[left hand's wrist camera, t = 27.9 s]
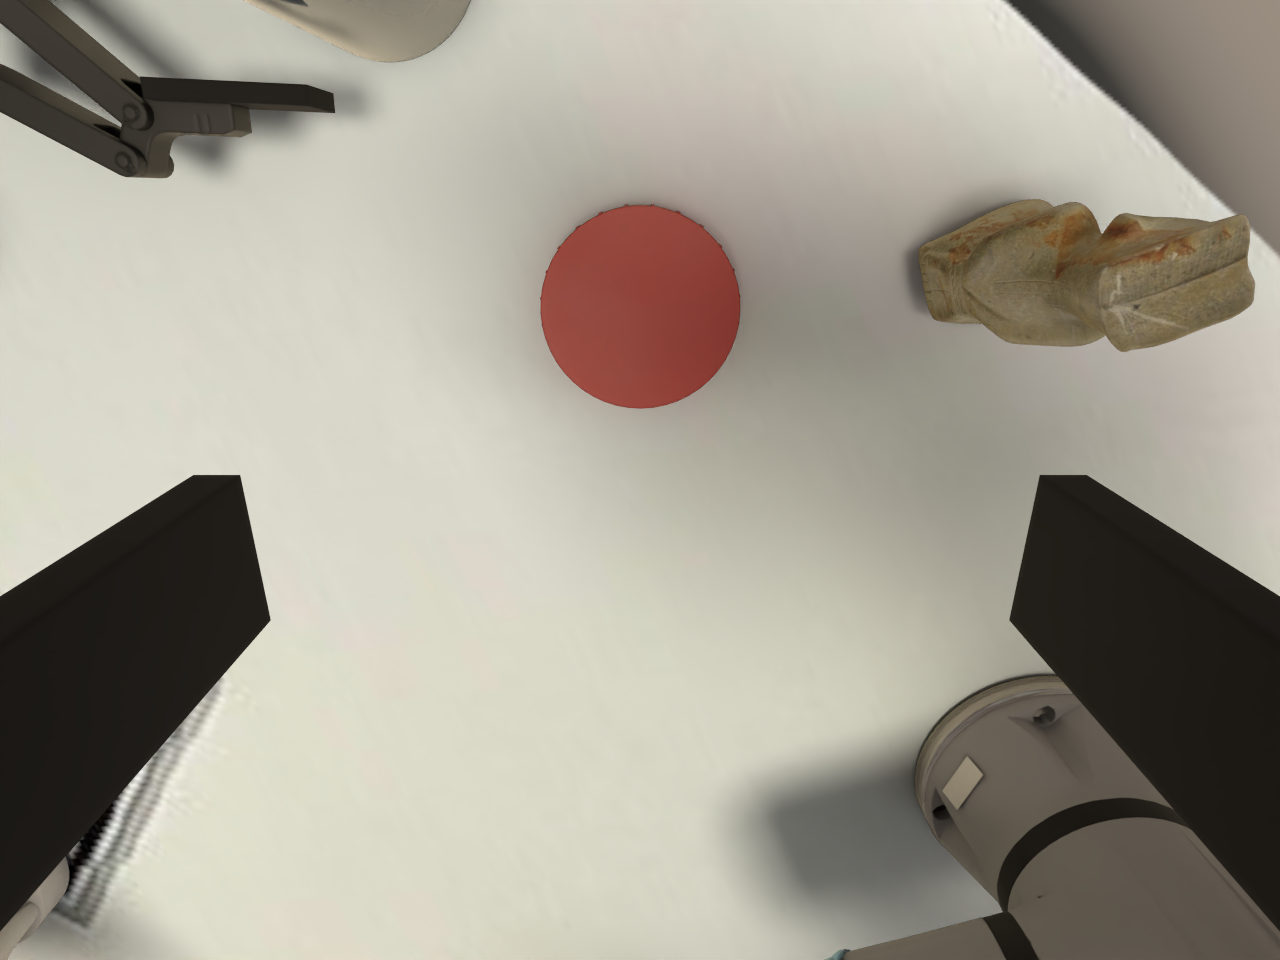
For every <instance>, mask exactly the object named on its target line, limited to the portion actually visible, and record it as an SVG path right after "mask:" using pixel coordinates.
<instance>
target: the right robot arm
mask: <svg viewBox="0 0 1280 960" xmlns="http://www.w3.org/2000/svg"><path fill="white" fill-rule="evenodd" d="M0 23H1V24H2V25H3V26H5V27H6V28H7V29H8V30H10V31H11V32H12V33H13V34H14V35H16V36H17V37H18V38H19V39H20V40H22V41H23V42H24V43H25V44H26V45H28V46H29V47H30V48H31V49H32V50H34V51H35V52H36V53H37V54H39V55H40V56H41V57H42V58H43V59H45V60H46V61H47V62H48V63H49V64H51V65H52V66H53V67H54V68H55V69H57V70H58V71H59V72H60V73H61V74H63V75H64V76H65V77H66V78H67V79H69V80H70V81H71V82H72V83H74V84H75V85H76V86H77V87H78V88H80V89H81V90H82V91H83V92H84V93H86V94H87V95H88V96H89V97H90V98H92V99H93V100H94V101H95V102H96V103H98V104H99V105H100V106H101V107H102V108H104V109H105V110H106V111H107V112H109V113H110V114H111V115H112V116H113V117H115V118H116V119H117V120H118V121H119V122H121V123H122V127H119V126H117V125H116V124H114V123H112V122H110V121H108V120H106V119H104V118H103V117H101V116H99V115H97V114H95V113H93V112H91V111H90V110H88V109H86V108H84V107H82V106H80V105H78V104H77V103H75V102H73V101H71V100H69V99H67V98H65V97H63V96H62V95H60V94H58V93H56V92H54V91H52V90H50V89H49V88H47V87H45V86H43V85H41V84H39V83H37V82H36V81H34V80H32V79H30V78H28V77H26V76H24V75H22V74H21V73H19V72H17V71H15V70H13V69H11V68H9V67H7V66H5V65H2V64H0V112H1V113H3V114H5V115H7V116H9V117H11V118H13V119H15V120H17V121H18V122H20V123H22V124H24V125H26V126H28V127H30V128H32V129H34V130H36V131H37V132H39V133H41V134H43V135H45V136H47V137H49V138H51V139H53V140H55V141H57V142H58V143H60V144H62V145H64V146H66V147H68V148H70V149H72V150H74V151H76V152H77V153H79V154H81V155H83V156H85V157H87V158H89V159H91V160H93V161H95V162H97V163H98V164H100V165H102V166H104V167H106V168H108V169H110V170H112V171H114V172H116V173H117V174H119V175H122V176H125V177H141V178H167V177H169V176H170V175H171V174H172V173H173V171H174V163H173V160H172V158H171V157H170V155H169V154H170V148H171V145H172V142H173V141H174V139H175V138H177V137H178V136H182V135H206V136H228V137H242V136H245V135H247V134H250V133H252V130H251V122H250V115H249V109H262V110H283V111H304V112H325V113H335V107H334V97H333V93H330V92H327V91H324V90H321V89H318V88H315V87H312V86H309V85H302V84H282V83H261V82H240V81H219V80H199V79H178V78H157V77H140V78H139V77H138V76H137V75H136V74H135V73H133V72H132V71H131V70H130V69H129V68H127V67H126V66H125V65H124V64H123V63H122V62H120V61H119V60H118V59H117V58H116V57H115V56H113V55H112V54H111V53H110V52H109V51H108V50H106V49H105V48H104V47H103V46H102V45H100V44H99V43H98V42H97V41H96V40H95V39H93V38H92V37H91V36H90V35H89V34H88V33H86V32H85V31H84V30H83V29H82V28H80V27H79V26H78V25H77V24H76V23H75V22H73V21H72V20H71V19H70V18H69V17H68V16H66V15H65V14H64V13H63V12H62V11H61V10H59V9H58V8H57V7H56V6H55V5H53V4H52V3H51V2H50V1H49V0H0Z"/></svg>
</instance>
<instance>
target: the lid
mask: <svg viewBox="0 0 1280 960" xmlns="http://www.w3.org/2000/svg"><path fill="white" fill-rule="evenodd" d="M598 214H599V215H598V216H596V217H594V218H592V219H590V220H589V221H587V222H586V223H584V224H583V225H581V226H580V225H579V226H577V227H576V230H575V231H574V232H573V233H572V234H571V235H570V236H569V237H568V238H567V239H566V240H565V241H564V243H563V244H562V245H561V246H559V247H558V248H557V249H558V251H557V252H556V254H555V256H554V258H553V259H552V261H551V263H550V266H549V268H548V270H547V271H546V276H545V280H544V283H543V288H542V295H541V298H540V299H541V319H542V327H543V331H544V334H545V338H546V341H547V344H548V346H549V349H550V351H551V353H552V355H553V356H554V358H555V360H556V362H557V363H558V365H559V366H560V367H561V369H562V370H563V372H564V373H565V374H566V375H567V376H568V377H569V378H570V379H571V380H572V381H573V382H574V383H575V384H576V385H577V386H579V387H580V388H581V389H582V390H584V391H585V392H587V393H589V394H590V395H592V396H593V397H596V398H598V399H600V400H602V401H604V402H607V403H610V404H613V405H617V406H622V407H627V408H654V407H659V406H664V405H668V404H670V403H673V402H676V401H679V400H681V399H683V398H685V397H687V396H689V395H691V394H692V393H694V392H695V391H697V390H698V389H700V388H701V387H702V386H703V385H704V384H706V383H707V382H708V381H709V380H710V379H711V378H712V377H713V376H714V375H715V374H716V372H717V371H718V370H719V369H720V367H721V366H722V364H723V363H724V361H725V360H726V358H727V356H728V354H729V352H730V350H731V348H732V346H733V343H734V340H735V338H736V334H737V329H738V325H739V317H740V295H739V290H738V284H737V281H736V277H735V274H734V269H733V268H732V266H731V264H730V262H729V259H728V258H727V256H726V255H725V253H724V251H723V250H722V246H721V245H720V244H718V243H717V242H716V241H715V239H714V238H713V237H712V236H711V235H710V234H709V233H708V232H707V231H706V230H704V229H703V227H704V226H702V225H700V224H699V225H698V224H697V223H695V222H694V221H692V220H691V219H689V218H687V217H685V216H683V215H681V214H680V212H679V211H677V212H674V211H671V210H668V209H665V208H661V207H656V206H654V204H651V206H647V205H633V206H627V204H626V205H625V207H620V208H616V209H612V210H610V211H607V212H604V213H603V212H600V213H598Z"/></svg>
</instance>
